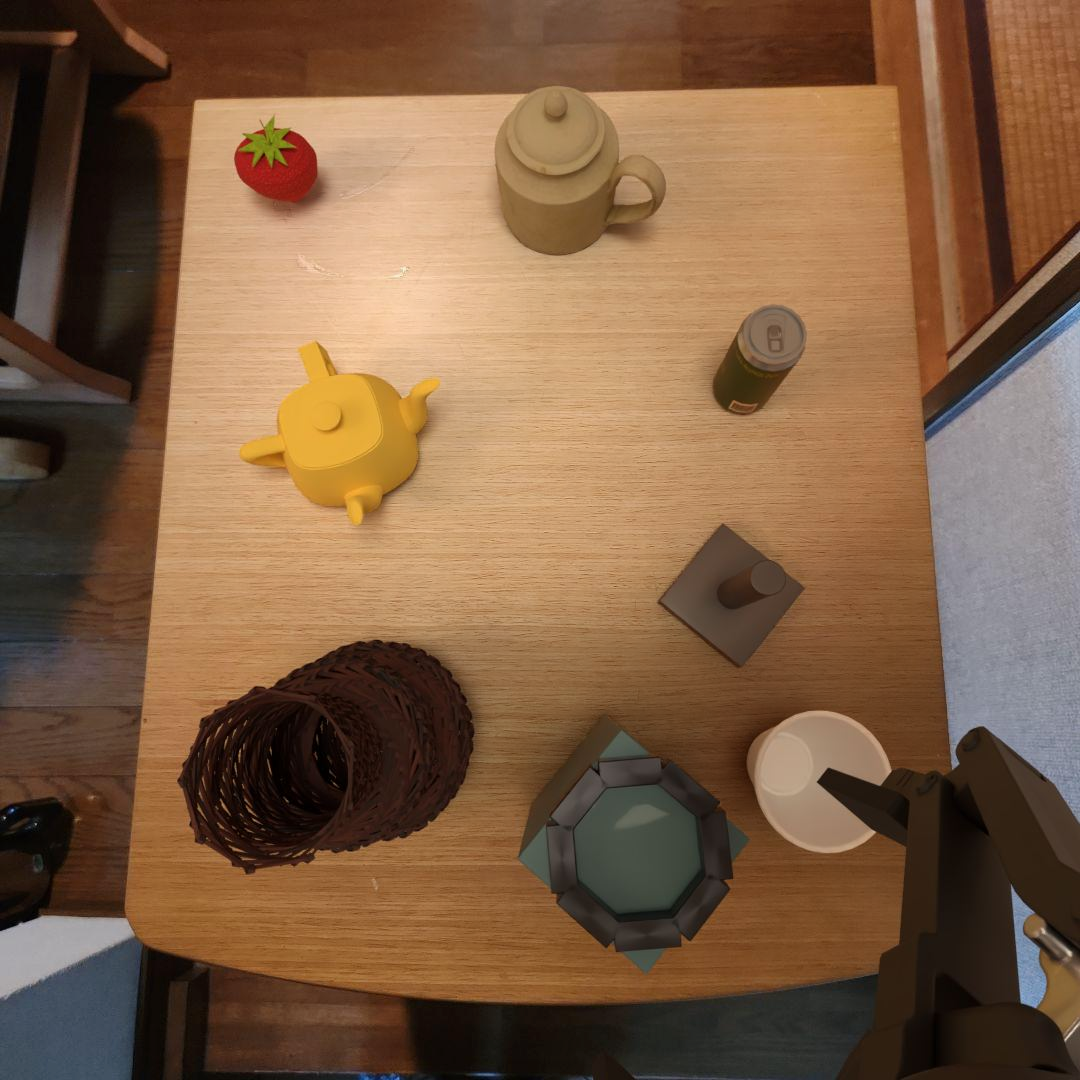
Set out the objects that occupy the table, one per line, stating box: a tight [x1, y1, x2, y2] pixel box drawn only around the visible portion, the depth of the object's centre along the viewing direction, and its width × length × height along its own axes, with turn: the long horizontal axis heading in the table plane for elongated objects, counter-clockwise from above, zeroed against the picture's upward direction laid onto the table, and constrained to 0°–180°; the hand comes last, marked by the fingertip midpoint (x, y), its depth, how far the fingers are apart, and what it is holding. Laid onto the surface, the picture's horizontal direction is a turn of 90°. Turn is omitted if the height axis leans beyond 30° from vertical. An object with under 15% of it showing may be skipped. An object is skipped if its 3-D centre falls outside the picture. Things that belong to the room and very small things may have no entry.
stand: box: [517, 713, 751, 975], centre depth 57 cm, size 10×10×20 cm
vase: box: [176, 639, 475, 875], centre depth 53 cm, size 15×15×30 cm
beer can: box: [712, 303, 808, 415], centre depth 66 cm, size 5×5×12 cm
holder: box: [657, 523, 806, 669], centre depth 62 cm, size 9×9×14 cm
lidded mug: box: [494, 85, 667, 256], centre depth 69 cm, size 15×11×15 cm
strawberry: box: [233, 114, 319, 203], centre depth 72 cm, size 6×8×10 cm
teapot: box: [238, 340, 441, 526], centre depth 68 cm, size 14×13×10 cm
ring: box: [546, 753, 735, 953], centre depth 46 cm, size 11×11×2 cm
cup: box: [746, 710, 893, 854], centre depth 61 cm, size 10×10×11 cm
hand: (740, 937), depth 30 cm, fingers open, 13 cm apart
